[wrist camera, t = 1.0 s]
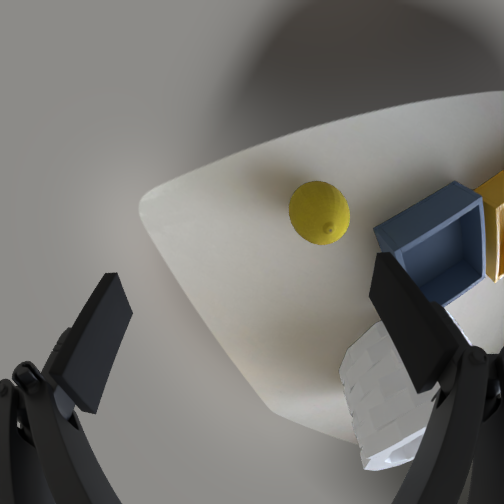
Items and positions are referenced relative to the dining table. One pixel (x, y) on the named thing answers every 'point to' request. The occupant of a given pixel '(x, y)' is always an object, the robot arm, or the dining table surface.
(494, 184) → the yellow bin
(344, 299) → the dining table surface
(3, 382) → the robot arm
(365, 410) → the white brick well
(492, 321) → the dining table surface
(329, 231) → the lemon
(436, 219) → the blue bin
